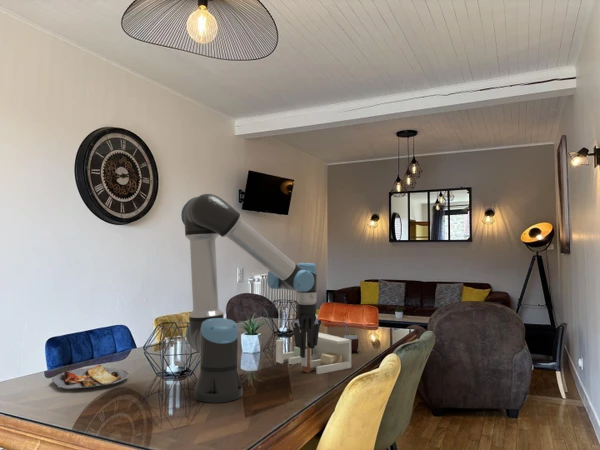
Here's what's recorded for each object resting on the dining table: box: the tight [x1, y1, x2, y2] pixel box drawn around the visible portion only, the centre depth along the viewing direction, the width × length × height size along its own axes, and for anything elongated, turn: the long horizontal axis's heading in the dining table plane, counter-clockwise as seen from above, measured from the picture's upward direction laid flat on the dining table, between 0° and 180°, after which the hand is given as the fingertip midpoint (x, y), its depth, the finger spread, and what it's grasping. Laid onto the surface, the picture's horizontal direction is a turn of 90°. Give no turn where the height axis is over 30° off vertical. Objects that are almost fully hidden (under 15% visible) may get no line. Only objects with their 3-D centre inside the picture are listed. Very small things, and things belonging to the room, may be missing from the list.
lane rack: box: [283, 332, 352, 375], centre depth 190 cm, size 17×28×11 cm, turn 37°
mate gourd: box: [342, 320, 359, 355], centre depth 212 cm, size 8×8×15 cm
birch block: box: [301, 347, 342, 373], centre depth 181 cm, size 16×6×9 cm, turn 126°
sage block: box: [275, 339, 314, 364], centre depth 195 cm, size 16×6×9 cm, turn 127°
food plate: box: [51, 364, 130, 390], centre depth 161 cm, size 25×23×4 cm
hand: (306, 365), depth 176 cm, fingers closed on birch block
